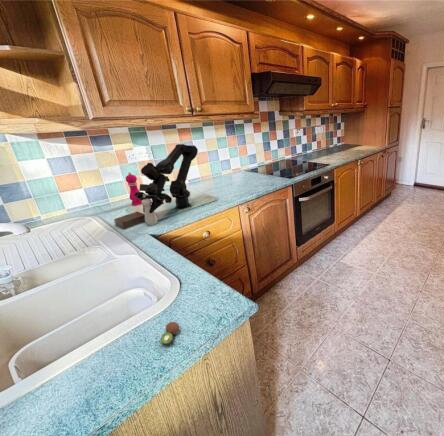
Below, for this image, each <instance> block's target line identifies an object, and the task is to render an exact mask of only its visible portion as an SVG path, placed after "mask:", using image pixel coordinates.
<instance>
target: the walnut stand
mask: <svg viewBox="0 0 444 436" xmlns="http://www.w3.org/2000/svg"><path fill="white" fill-rule="evenodd" d="M113 221H114V224H115V226H116V227H118V228H121V229H122V230H127V229H129V228H132V227H135V226H138V225H140V224H143V223H146V222H145V213H144V212H141V211H134V212H131V213H128V214H126V215H123V216H119V217H117V218H114V219H113Z"/></svg>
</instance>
